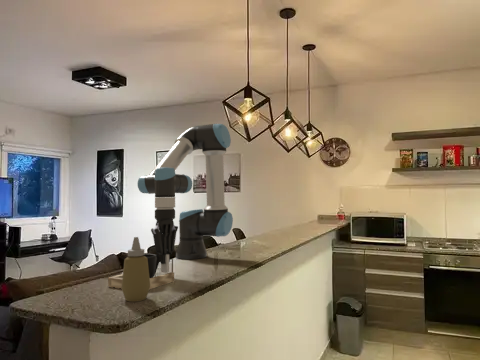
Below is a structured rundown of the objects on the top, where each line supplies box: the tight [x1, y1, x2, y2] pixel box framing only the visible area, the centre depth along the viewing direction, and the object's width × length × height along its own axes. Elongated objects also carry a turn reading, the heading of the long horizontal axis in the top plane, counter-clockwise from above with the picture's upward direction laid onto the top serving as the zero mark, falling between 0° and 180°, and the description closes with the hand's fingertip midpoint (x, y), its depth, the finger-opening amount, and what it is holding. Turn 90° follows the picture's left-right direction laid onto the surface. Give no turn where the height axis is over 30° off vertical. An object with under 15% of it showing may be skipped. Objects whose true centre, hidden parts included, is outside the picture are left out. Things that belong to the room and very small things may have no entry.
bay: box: [107, 271, 175, 290], centre depth 125 cm, size 16×15×3 cm
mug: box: [143, 253, 160, 278], centre depth 127 cm, size 8×12×10 cm
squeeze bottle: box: [121, 236, 150, 303], centre depth 106 cm, size 8×8×18 cm
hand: (165, 272), depth 135 cm, fingers closed
